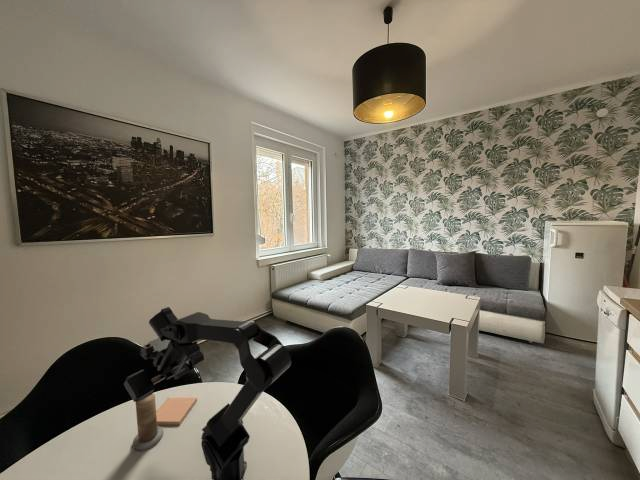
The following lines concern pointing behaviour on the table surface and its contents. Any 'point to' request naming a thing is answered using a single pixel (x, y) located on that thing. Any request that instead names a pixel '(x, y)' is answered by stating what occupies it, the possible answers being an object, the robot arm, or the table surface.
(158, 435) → the tamper
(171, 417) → the tile rest
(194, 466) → the table surface
